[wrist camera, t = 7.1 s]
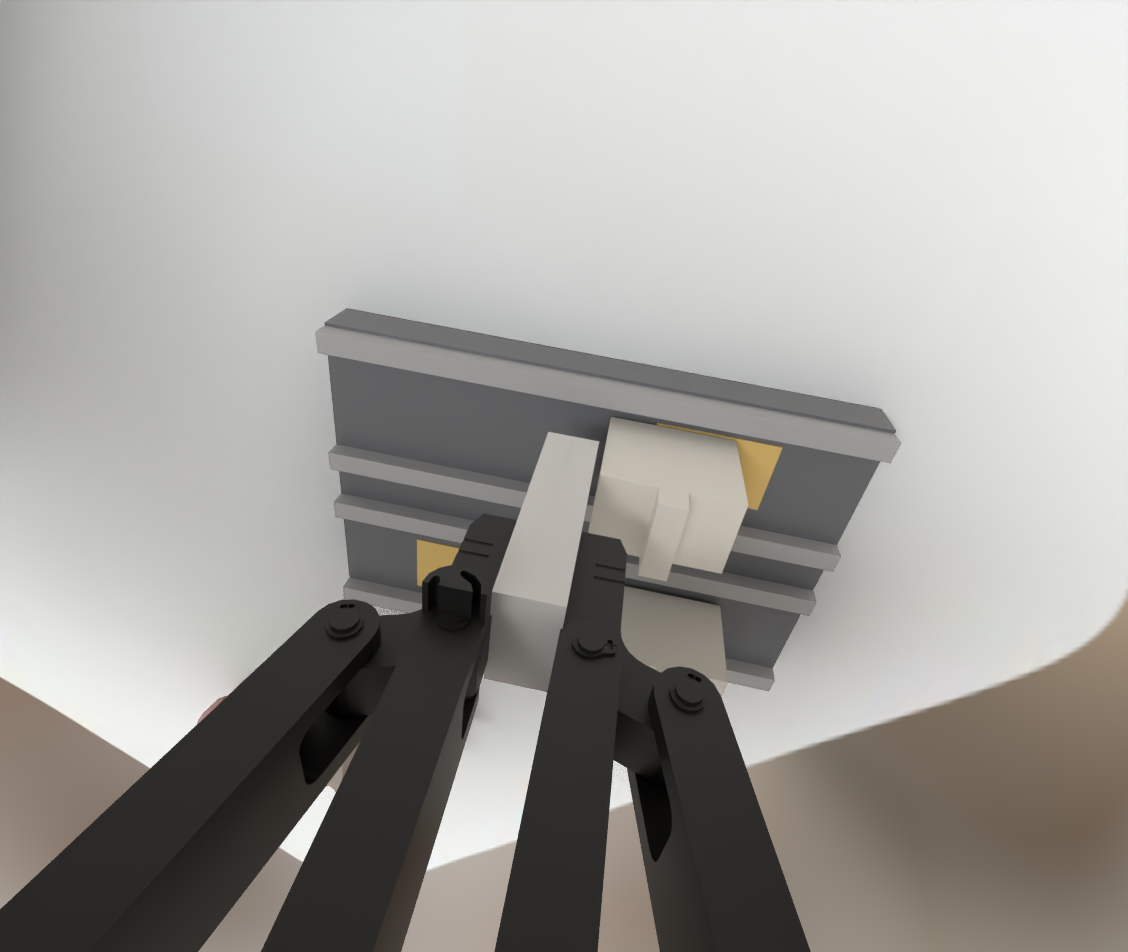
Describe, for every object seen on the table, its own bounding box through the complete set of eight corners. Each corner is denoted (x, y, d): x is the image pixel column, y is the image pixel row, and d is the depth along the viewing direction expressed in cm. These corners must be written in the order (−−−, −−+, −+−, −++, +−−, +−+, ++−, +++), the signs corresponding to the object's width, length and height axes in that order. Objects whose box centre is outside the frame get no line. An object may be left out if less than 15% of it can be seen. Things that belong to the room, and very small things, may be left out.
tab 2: (605, 628, 24) (593, 721, 20) (616, 584, 22) (606, 676, 19) (702, 649, 23) (708, 747, 20) (720, 606, 22) (729, 703, 18)
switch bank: (366, 567, 26) (344, 600, 25) (346, 308, 20) (315, 328, 18) (761, 652, 25) (768, 692, 24) (880, 408, 19) (902, 440, 17)
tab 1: (598, 480, 20) (582, 563, 16) (611, 416, 18) (596, 491, 15) (714, 504, 20) (723, 593, 16) (735, 440, 18) (752, 523, 15)
